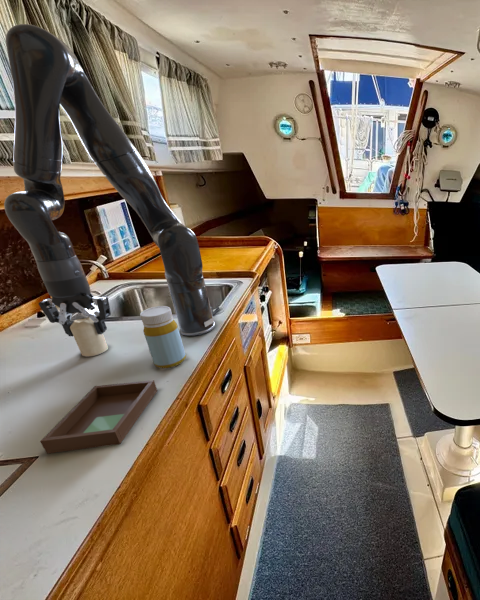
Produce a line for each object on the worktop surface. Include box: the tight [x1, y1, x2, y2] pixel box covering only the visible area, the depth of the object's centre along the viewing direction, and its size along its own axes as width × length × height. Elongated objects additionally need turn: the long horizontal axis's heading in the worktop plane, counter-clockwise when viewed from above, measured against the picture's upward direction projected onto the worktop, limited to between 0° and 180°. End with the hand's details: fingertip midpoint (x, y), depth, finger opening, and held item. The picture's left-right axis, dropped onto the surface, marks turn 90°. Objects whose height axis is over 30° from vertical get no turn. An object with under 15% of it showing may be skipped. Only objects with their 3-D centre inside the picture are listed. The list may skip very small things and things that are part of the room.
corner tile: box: [84, 414, 124, 433], centre depth 64 cm, size 7×7×1 cm
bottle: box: [139, 305, 187, 369], centre depth 82 cm, size 7×7×15 cm
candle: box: [70, 316, 109, 358], centre depth 87 cm, size 6×6×10 cm
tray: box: [39, 379, 158, 454], centre depth 66 cm, size 16×12×3 cm
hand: (87, 333), depth 87 cm, fingers open, 6 cm apart
